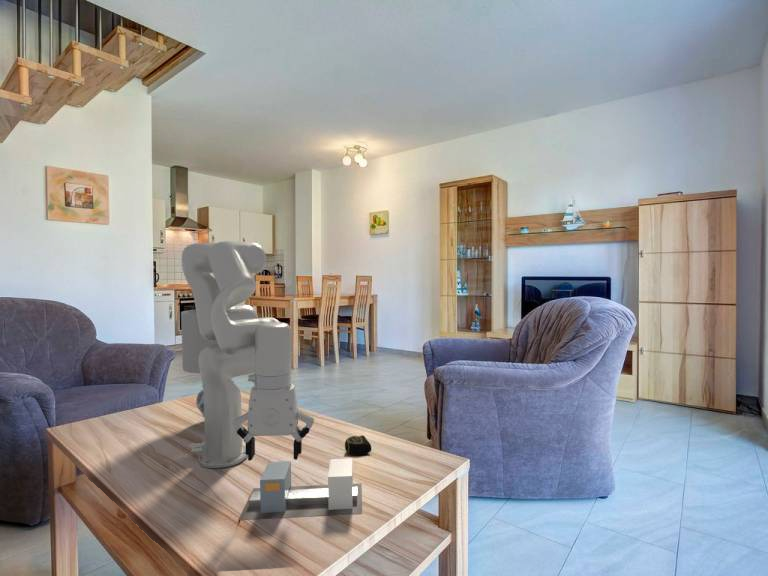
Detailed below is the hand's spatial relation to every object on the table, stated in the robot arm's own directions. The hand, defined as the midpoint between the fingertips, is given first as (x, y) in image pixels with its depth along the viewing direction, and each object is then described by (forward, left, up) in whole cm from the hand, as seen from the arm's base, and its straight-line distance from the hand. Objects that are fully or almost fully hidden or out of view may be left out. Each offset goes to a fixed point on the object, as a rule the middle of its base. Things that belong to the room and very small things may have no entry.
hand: (274, 457), depth 88 cm
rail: (+7, -1, -11) cm, 12 cm away
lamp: (-29, +53, -11) cm, 61 cm away
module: (+1, -1, -10) cm, 10 cm away
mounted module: (+15, -1, -10) cm, 17 cm away
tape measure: (+19, +25, -11) cm, 33 cm away
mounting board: (+7, -1, -11) cm, 12 cm away
